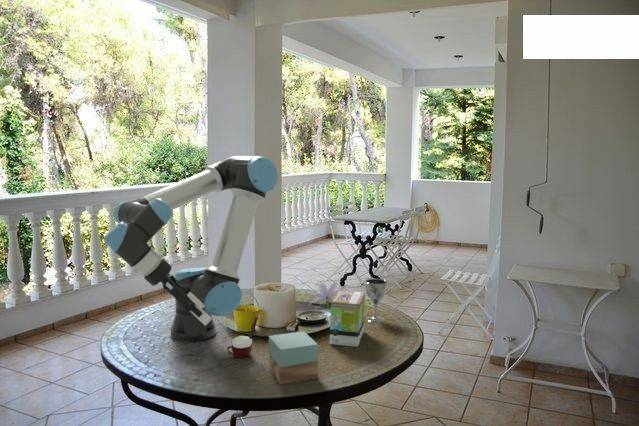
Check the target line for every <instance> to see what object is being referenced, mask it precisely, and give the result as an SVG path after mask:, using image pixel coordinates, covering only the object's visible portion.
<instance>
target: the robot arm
mask: <svg viewBox="0 0 639 426" xmlns="http://www.w3.org/2000/svg"><path fill="white" fill-rule="evenodd" d="M278 175H279V174H278V170H277V168H276V165H275V163H274V162H273V161H272V160H271V159H270V158H268V157H266V156H261V155H233V156H229V157H227V158H225V159H221V160H220V161H218V162H215V163H213V164H210V165H208V166H206V167H205V168H204V170H203V171H202V172H199V173H197V174H194V175H192V176H190V177H187V178H185V179H183V180H180V181H178V182H175V183H173V184H171V185H168V186H165V187H163V188H161V189H158V190H156V191H154V192H151V193H149V194H146V195H144V196H142V197H139V198H136V199H135V200H132V201H128V200H126V201H122V202H120V203H118V204H116V206H115V207H114V210H113V217H114V220H115V221H116V223H117V224H116V225H115V226H113V227H112V228H111V229H110V230H109V231H108V232H107V233H106V234H105V235H104V237H103V242H104V243H105V244H106V246H108V247H109V249H111V250H112V252H114V253H115V254H116V255H118V256H119V257H120V258H121V259H122V260H123V261H125V262H126V263H127V264H128V265H129V266H130V267H131V268H132V271H133V273H138V274H139V275H140V276H142V277H144V280H145V281H146V282H148V283H149V284H150V285H151V286H157V285H159V283H162V288H163V289H164V290H165V291H167V292H168V293H169V294H170V295H171V296H172V297H173V298H174V300H175V301H174V302H175V305H174V306H175V307H174V308H175V314H174V317H173V321H172V324H171V326H170V327H171V328H170V338H171V339H173V340H176V341H179V342H199V341H204V340H207V339H209V338H212V337H213V336H215V335H216V331H217V330H216V323H215V320H214V319H213V318H214V317H213V316H216V317H227V316H229V315H231V314H232V313H233V312H235V311H236V309H238V307H239V305H240V304H241V302H242V297H243V295H242V294H243V292H242V291H241V290H242V289H241V287H240V285H239V283H240V280H241V277H240V275H239V273H238V270H239V267H240V264H241V262H242V257H243V254H244V251H245V247H246V244H247V242H248V238H249V235H250V232H251V228H252V225H253V221H254V218H255V215H256V213H257V208H258V205H259V204H260V203H261V202H263V201H264V200H265V199H266V195H267V193H268V192H271V191H272V190H273V189H274V188H275V187H276V186H277V183H278V177H279V176H278ZM225 190H230V191H231V193H232V196H233V197H232V200H231V203H230V206H229V209H228V212H227V216H226V219H225V222H224V224H223V229H222V230H221V236H220V238H219V241H218V244H217V247H216V250H215V254H214V257H213V260H212V263H211V265H209V266H207V267H204V266H203V267H202V266H201V267H188V268H183V269H179V270H177V271H176V272H175V275H172V274H171V271H172V265H171V264H170V263H169V262H168V261H166V260H165V259H164V258H162V256H161V255H160V254H159V253H158V252H157V251H156V250H155V249H154V248H153V247H152V246H151V245H149V244H148V243H149V242H150V241H151V240H152V238H154V237H155V236H156V234H158V233H159V231H160V230H162V229H163V228H164V226H166V225H167V224H168V222H169V221H170V220H171V218H173V216H174V212H173V210H175V209H179V208H180V207H183V206H184V205H186V204H189V203H191V202H193V201H195V200H198V199H200V198H202V197H205V196H207V195H208V194H212V193H213V192H215V193H220V192H223V191H225Z"/></svg>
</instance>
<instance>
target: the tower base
mask: <svg viewBox="0 0 639 426" xmlns="http://www.w3.org/2000/svg"><path fill="white" fill-rule="evenodd" d="M269 369H270V371H271V372H272V374H273V376H274V377H275V378H276V380H277V381H278V383H279V384H280V385H282V384H289V383H295V382H303V381H308V380H314V379H318V378H319V377H318V376H319V361H317V362H310V363H304V364H298V365H291V366H285V367H280V366H279V365H278V364H277V362H276V361H275V360H274V358H273V357H272V356H271V355H270V354H269Z"/></svg>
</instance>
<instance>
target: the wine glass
mask: <svg viewBox="0 0 639 426" xmlns="http://www.w3.org/2000/svg"><path fill="white" fill-rule="evenodd" d="M387 285H388V281H387V280H386V279H383V278H368V279H366V280H365V291H366V295H367V297H368V299H369V300H370V301H371V303H372V304H373V308H374V316H367V317H366V318H365V320H366V322H369V323H374V324H375V323H376V324H380V323H384V322H385V318H383V317H382V316H381V317H380V316H377V313H378V312H377V310H378V306H379V303H380V302H381V301H382V300H383V299H384V298H385V296H386V293H387Z"/></svg>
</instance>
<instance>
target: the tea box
mask: <svg viewBox="0 0 639 426" xmlns="http://www.w3.org/2000/svg"><path fill="white" fill-rule="evenodd" d="M332 298H333V300H332V301H331V302H330V325H329V344H330V345H335V346H344V347H357V348H358V347H359V345H360V342H361V339H362V337H363V334H364V331H365V330H364V328H365V309H366V306H365V304H366V293H365V292H361V291H360V292H359V291H348V290H343V291H338V292H337V294H336V295H335V296H333V297H332Z"/></svg>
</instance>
